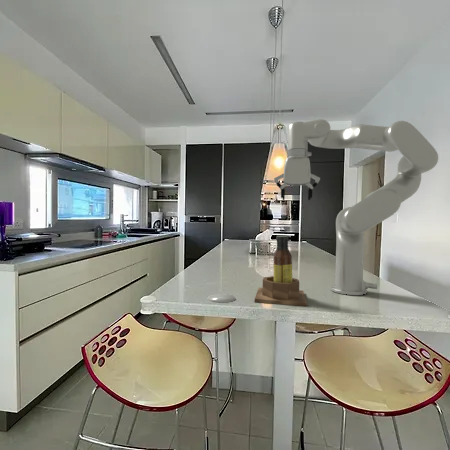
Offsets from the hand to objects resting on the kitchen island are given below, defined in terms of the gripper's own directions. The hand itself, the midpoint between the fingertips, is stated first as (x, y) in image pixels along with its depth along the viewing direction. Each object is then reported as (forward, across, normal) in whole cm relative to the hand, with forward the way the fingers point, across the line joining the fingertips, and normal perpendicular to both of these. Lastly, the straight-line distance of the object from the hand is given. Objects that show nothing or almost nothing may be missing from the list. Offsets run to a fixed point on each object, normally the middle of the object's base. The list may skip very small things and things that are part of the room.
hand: (296, 199), depth 111 cm
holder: (+34, +5, +16) cm, 38 cm away
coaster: (+35, +24, +23) cm, 48 cm away
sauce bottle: (+34, +4, +16) cm, 37 cm away
